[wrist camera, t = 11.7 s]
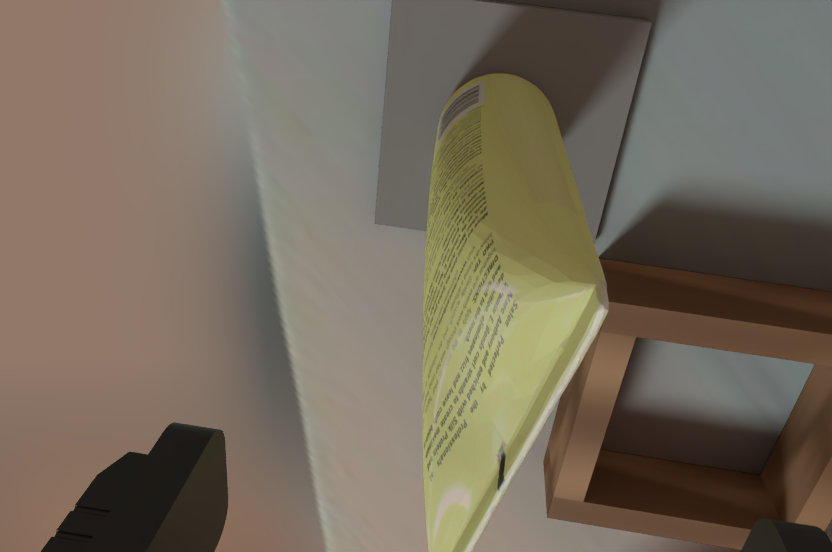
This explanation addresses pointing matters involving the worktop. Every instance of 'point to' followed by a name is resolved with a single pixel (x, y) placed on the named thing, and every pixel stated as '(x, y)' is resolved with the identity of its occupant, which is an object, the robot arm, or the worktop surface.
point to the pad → (510, 54)
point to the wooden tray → (679, 482)
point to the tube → (498, 298)
